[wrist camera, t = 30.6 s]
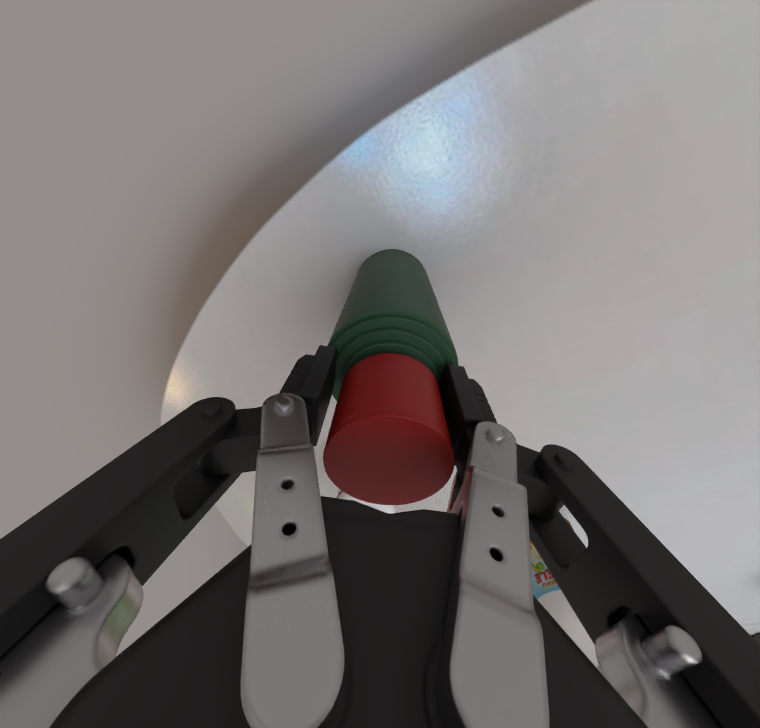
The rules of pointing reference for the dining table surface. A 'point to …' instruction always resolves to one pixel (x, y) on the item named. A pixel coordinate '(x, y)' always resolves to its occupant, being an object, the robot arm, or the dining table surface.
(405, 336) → the bottle
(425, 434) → the cap
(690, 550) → the dining table surface
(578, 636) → the milk bottle
